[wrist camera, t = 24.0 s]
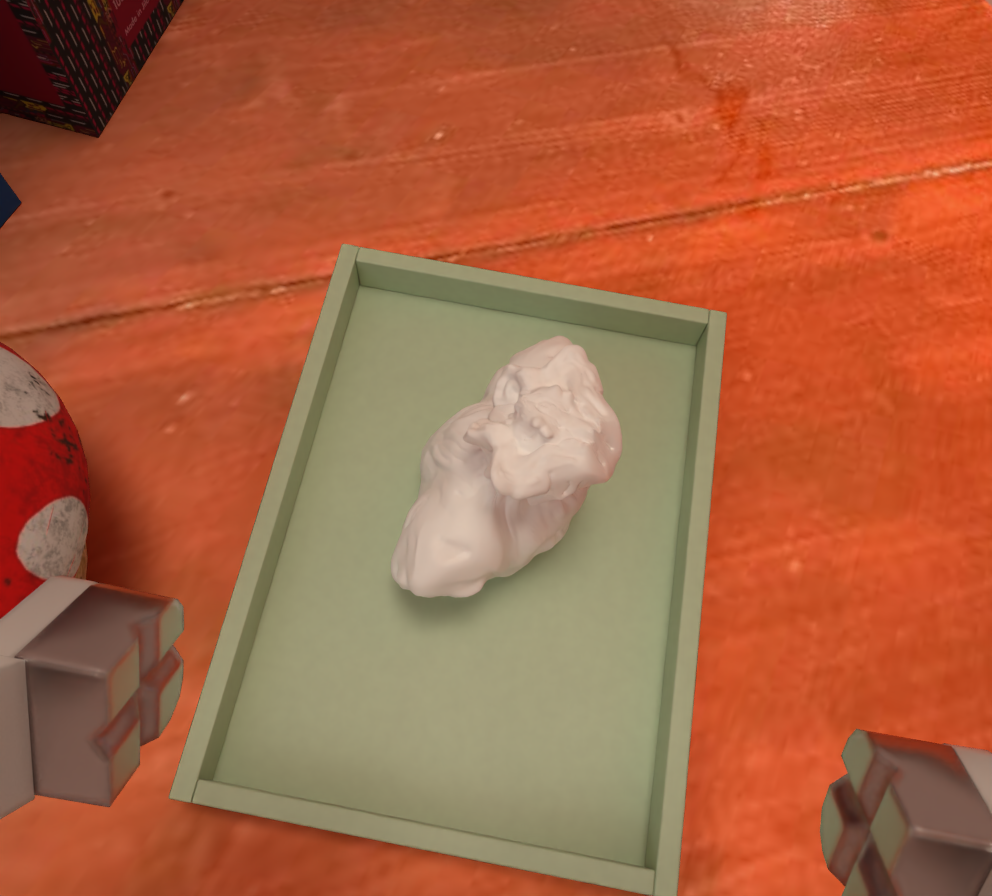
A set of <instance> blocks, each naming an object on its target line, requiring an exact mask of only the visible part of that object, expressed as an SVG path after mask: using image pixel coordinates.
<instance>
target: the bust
mask: <svg viewBox="0 0 992 896" xmlns="http://www.w3.org/2000/svg"><path fill="white" fill-rule="evenodd" d="M602 394H603V387H602V384H601V380H600V377H599V374H598V371H597V369H596V367H595V365H594V364H592V363H591V362H589V360H588V358H587V355H586V352H585V350H584V349H583V348H582V347H581V346H579V345H573V344H572V342H571V341H570V340H569V339H568V338H566V337H564V336H555V337H552V338H550V339H548V340H542V341H540V342H538V343H537V344H535V345H533V346H530V347H528V348H526V349H525V350H523V351H520V352H518V353H516V354H514V355H513V356H512V357H511V358H510V361H509V364H507V365H506V366H503V367H501V368H500V369H498V370H497V371H496V373H495V374H494V376H493V377H492V379H491V381H490V383H489V384H488V386H487V388H486V391H485V394H484V396H483V398H482V400H481V401H480V402H479V403H476V404H473V405H470V406H467V407H465V408H463V409H462V410H460V411H459V412H457V413H456V414H455V415H454V416H452V417H451V418H450V419H449V420H447V421H446V422H445V423H444V424H443V425H442V426H441V427H440V428H439V429H438V430H437V431H436V432H435V433H434V434H433V435H431V437H430V438H429V439H428V441H427V443H426V445H425V446H424V447H423V449H422V452H421V462H420V473H421V484H420V488H419V493H418V499H417V500H416V501H415V503H414V504H413V506H412V507H411V509H410V510H409V512H408V514H407V517H406V520H405V522H404V524H403V528H402V533H401V535H400V537H399V540H398V543H397V545H396V548H395V550H394V553H393V555H392V559H391V574H392V577H393V579H394V580H395V581H396V582H397V583H398V584H399V586H400V587H401V588H402V589H406V590H410V591H411V592H412V593H413V594H414V595H416V596H422V597H427V598H432V597H436V596H451V597H454V598H457V597H461V598H462V597H469V596H472V595H474V594H476V593H478V592H479V591H480V590H481V589H482V587H483V585H484V584H485V582H486V581H487V580H489V579H492V578H495V577H508V576H510V575H512V574H514V573H516V572H517V571H519V570H520V569H522V568H523V567H524V566H526V565H527V564H528V563H529V562H530V561H531V560H532V559H533V557H534V556H536V555H537V554H540V553H542V552H545V551H548V550H550V549H552V548H553V547H554V545H556V544H557V543H558V542H559V541H560V540H561V539H562V538H563V536H564V535H565V534H566V532H567V530H568V528H569V524H570V521H571V519H572V517H573V516H574V515H575V514H576V513H577V512H578V511H579V509H580V507H581V505H582V504H583V502H584V500H585V498H586V495H587V491H588V489H589V488H590V485H593V484H602V483H605V482H606V481H608V479H610V477H611V476H612V475H613V473H614V469H615V465H616V463H617V462H618V460H619V458H620V456H621V453H622V434H621V429H620V424H619V421H618V418H617V416H616V414H615V412H614V411H613V409H612V408H611V407H610V406H609V404H608V403H607V402H606V401H605V399H604V397H603V396H602Z"/></svg>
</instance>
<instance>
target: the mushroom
mask: <svg viewBox="0 0 992 896" xmlns="http://www.w3.org/2000/svg"><path fill="white" fill-rule="evenodd" d="M89 508H90V487H89V478H88V469H87V461H86V458H85V454H84V451H83V448H82V444H81V441H80V438H79V435H78V431H77V429H76V427H75V425H74V423H73V421H72V419H71V417H70V415H69V413H68V412H67V410H66V408H65V406H64V404H63V402H62V400H61V399H60V397H59V396H58V395H57V394H56V392H55V391H54V390H53V389H52V387H51V386H50V385H49V384H48V383H47V381H46V380H45V379H44V378H43V376H42V375H41V374H40V373H39V372H38V371H37V370H36V369H35V368H34V367H33V366H31V365H30V364H29V363H28V362H27V361H25V360H24V359H23V358H22V357H21V356H19V355H18V354H17V353H16V352H15V351H13V350H12V349H11V348H9V347H8V346H6V345H4V344H2V343H1V342H0V619H1V618H2V617H3V616H5V615H6V614H7V613H8V612H9V611H11V610H12V609H13V608H14V607H15V606H17V605H18V604H19V603H20V602H21V601H22V600H24V599H25V598H26V597H27V596H28V595H30V594H31V593H32V592H33V591H34V590H36V589H37V588H38V587H39V586H40V585H42V584H43V583H44V582H45V581H46V580H47V579H49V578H50V577H54V576H61V575H63V576H68V577H73V578H79V579H84V580H86V572H87V561H88V557H87V549H86V541H85V540H86V536H87V532H88V523H89Z"/></svg>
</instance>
